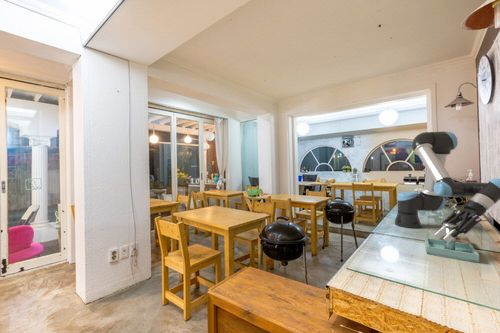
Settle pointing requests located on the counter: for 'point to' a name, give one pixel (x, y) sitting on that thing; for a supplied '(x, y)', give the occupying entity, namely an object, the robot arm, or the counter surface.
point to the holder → (460, 239)
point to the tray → (460, 253)
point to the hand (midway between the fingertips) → (441, 238)
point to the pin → (448, 229)
